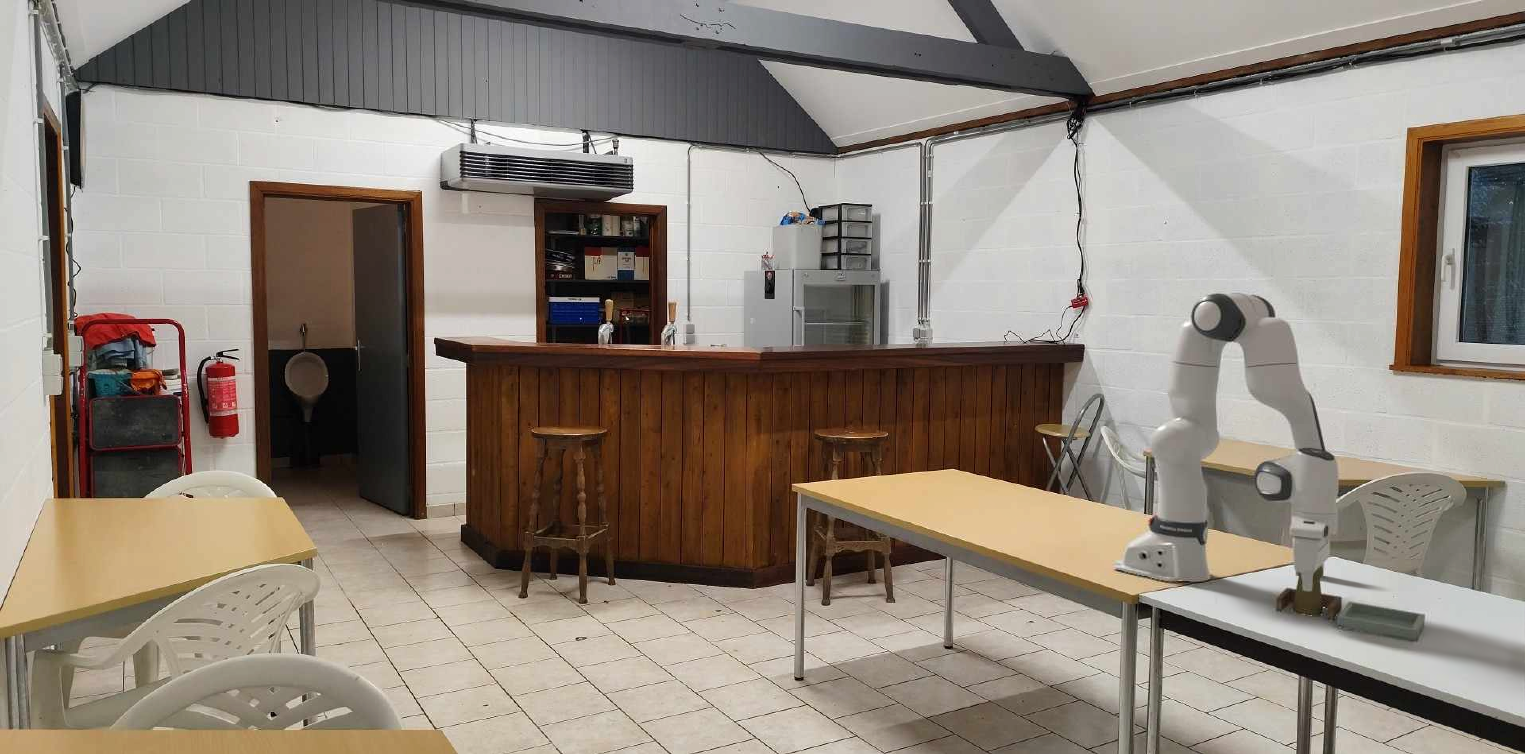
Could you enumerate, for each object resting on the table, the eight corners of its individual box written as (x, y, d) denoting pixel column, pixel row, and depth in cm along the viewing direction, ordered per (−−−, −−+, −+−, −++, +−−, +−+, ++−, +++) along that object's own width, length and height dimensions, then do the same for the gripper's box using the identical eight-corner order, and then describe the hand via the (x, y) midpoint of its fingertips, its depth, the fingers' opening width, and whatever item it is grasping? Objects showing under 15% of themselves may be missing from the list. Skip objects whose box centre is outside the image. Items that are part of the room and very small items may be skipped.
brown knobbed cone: (1327, 617, 218) (1330, 567, 217) (1296, 615, 219) (1299, 565, 218) (1317, 609, 223) (1320, 560, 223) (1288, 607, 225) (1290, 558, 224)
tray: (1337, 627, 210) (1337, 616, 210) (1348, 612, 221) (1349, 601, 221) (1416, 642, 202) (1417, 630, 202) (1424, 625, 213) (1425, 614, 212)
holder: (1275, 611, 221) (1276, 597, 221) (1286, 600, 230) (1287, 587, 229) (1332, 621, 215) (1333, 607, 214) (1341, 610, 223) (1341, 597, 222)
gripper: (1306, 514, 230) (1305, 574, 230) (1288, 529, 214) (1286, 593, 214) (1338, 517, 226) (1336, 578, 227) (1321, 533, 210) (1319, 598, 210)
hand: (1311, 586), depth 220 cm, fingers open, 8 cm apart
